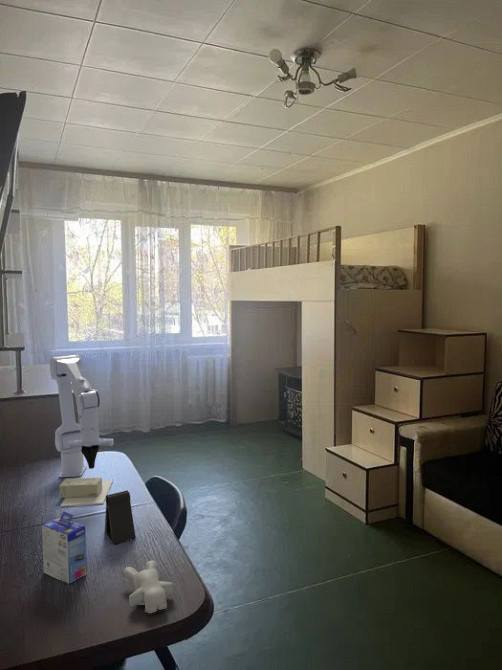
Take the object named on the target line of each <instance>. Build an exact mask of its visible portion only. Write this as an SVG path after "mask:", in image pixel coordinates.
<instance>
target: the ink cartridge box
mask: <svg viewBox="0 0 502 670" xmlns="http://www.w3.org/2000/svg"><path fill="white" fill-rule="evenodd" d="M73 516H74V514H72V513H68V512H66V511H63V512H62V514H61V515H60V516H59V517H57V518H54V519H52V520H49V521H48V522H46V523H44V524H42V525H41V532H42V533H41V534H42V535H41V536H42V558H43V559H42V560H43V574H46V575H48V576H50V577H52V578H54V579H57V580H58V581H60V580H62V581H61V582H63V581H65V582H67V583H70V582H72V581H73V580H75V579H77V578H78V577H80V576H82V575H84V574H85V573H87V574H88V564H87V563H88V561H87V542H86V541H87V540H86V537H87V536H86V525H85V524H81V523H78V522H75V521H72V519H73ZM64 517H68V519H66V518H64ZM65 582H64V583H65ZM67 583H66V584H67ZM72 583H73V582H72Z"/></svg>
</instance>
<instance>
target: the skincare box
mask: <svg viewBox="0 0 502 670" xmlns="http://www.w3.org/2000/svg"><path fill="white" fill-rule="evenodd" d="M102 481H103V479H102V477H82V478H78V477H75V478H74V477H73V478H65V479H64V480H63V481H62V482H61V483H60V484H59V486H58V487H59V497H60V499H65V498H72V497H97V496H98V495H99V494H100V492H101V491H102Z"/></svg>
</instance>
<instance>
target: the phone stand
mask: <svg viewBox="0 0 502 670" xmlns="http://www.w3.org/2000/svg"><path fill="white" fill-rule="evenodd" d="M131 502H132V501H131V493H130V491H129V490H128V489H127V490H124V491H120V492H115V493H110V494H107V495H106V499H105V515H104V516H105V517H104V533H105V534H106V536H107V537H108V538H109V540H110V542H111V541H112V542H111V543H112V545H113V544H114V545H113V546H115V545H118V543H119V544H122V543H124V541H126V542H128V541H127V540H129V541H131V540H130V539H132V540H135V539H134V538H136V537H137V536H136V532H135V530H136V529H135V524H134V518H133V517H134V516H133V510H132V503H131ZM136 539H137V538H136ZM121 542H122V543H121Z"/></svg>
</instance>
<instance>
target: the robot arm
mask: <svg viewBox="0 0 502 670" xmlns="http://www.w3.org/2000/svg"><path fill="white" fill-rule="evenodd" d="M49 370H50V377H51V379H52V380H54V381H56V384H57V390H58V391H57V392H58V398H59V399H58V400H59V408H60V416H61V425H60V426H59V427H58V428H57V429H56V430H55V432H54V445H55V448H56V450H57V452H60V459H61V460H60V462H61V472H60V474H58V478H70V477H71V478H72V477H73V478H74V477H75V478H77V477H82V475H83V473H84V472H85V470H86V469H87V466H86V465H85V464H84V458H85V460H86V462H87V465H88V469H89V470H90V469H91V470H93V469H94V468H95V467H96V466H95V464H96V460H97V455H98V452H99V449H100V447H103V446H108V447H113V445H114V438H103V437H100V429H99V409H98V408H99V407H100V406H101V399H100V393H99V392H98V390H97V389H94V388H92V386H91V383H90V382H89V381H88V380H87V378H85V377H83V376H82V374H81V370H82V359H81V356H80V355H79V354H72V355H62V356H52V357H51V358H50V360H49ZM73 394H74V396H75V402H76V408H77V415H78V416H79V423H77V422H76V414H75V404H74V403H75V402H74V398H73Z"/></svg>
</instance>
